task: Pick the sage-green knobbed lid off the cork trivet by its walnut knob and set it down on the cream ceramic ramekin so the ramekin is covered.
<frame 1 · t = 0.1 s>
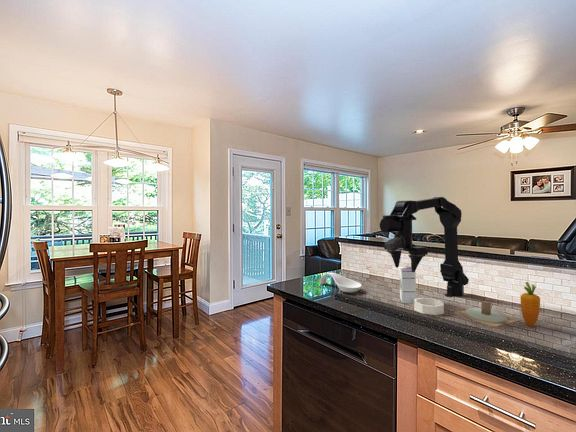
hand: (404, 269, 120), 15 cm above the worktop, fingers open, 9 cm apart
spoon rest: (339, 289, 146), on the worktop
trivet: (486, 319, 104), on the worktop
lid: (486, 316, 104), point 1 cm above the worktop, touching trivet
carrot: (530, 329, 95), on the worktop
bowl: (428, 312, 112), on the worktop
syrup box: (407, 302, 124), on the worktop
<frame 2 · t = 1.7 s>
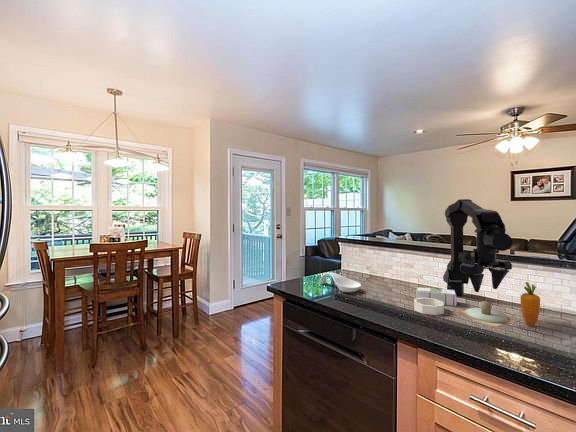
hand: (485, 290, 104), 10 cm above the worktop, fingers open, 9 cm apart
syrup box: (415, 295, 123), point 3 cm above the worktop
everything else where it was.
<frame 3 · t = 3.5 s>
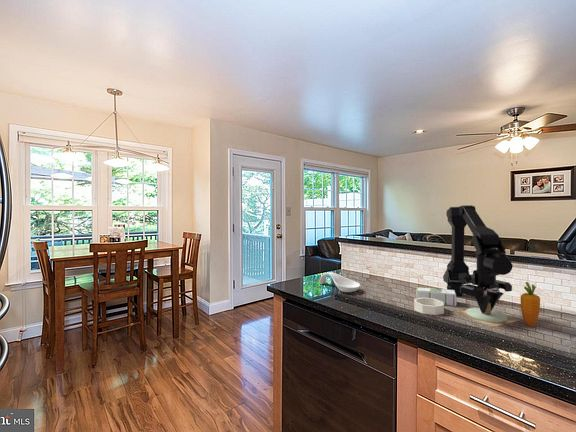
hand: (486, 312, 104), 3 cm above the worktop, fingers closed on lid, 3 cm apart
lid: (486, 316, 104), point 1 cm above the worktop, touching gripper, trivet
everything else where it was.
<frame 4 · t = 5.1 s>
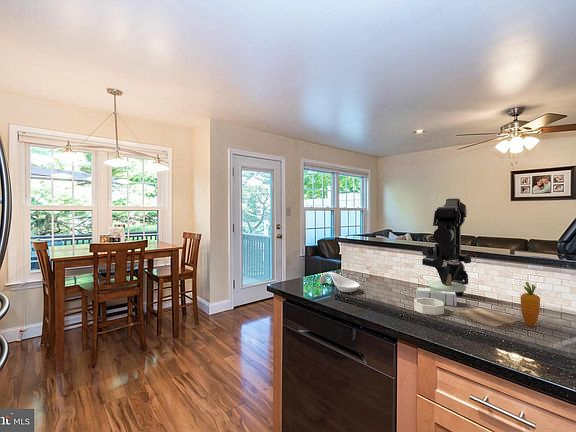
hand: (446, 283, 108), 12 cm above the worktop, fingers closed on lid, 3 cm apart
lid: (447, 287, 108), point 10 cm above the worktop, touching gripper
everything else where it was.
when the fingers open (7 cm above the worktop, at t = 6.9 s): lid drops 1 cm, resting on bowl.
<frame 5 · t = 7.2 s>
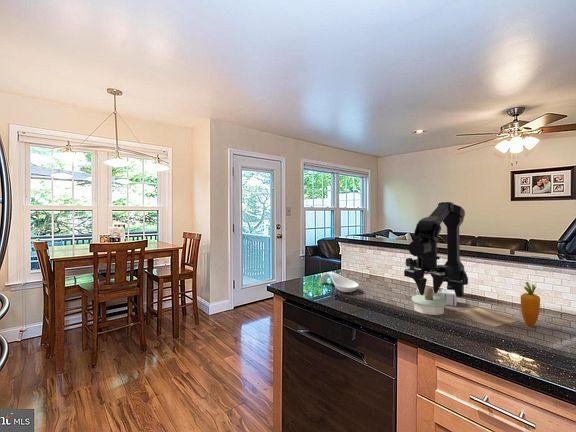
hand: (428, 294, 111), 7 cm above the worktop, fingers open, 6 cm apart
lid: (428, 301, 111), point 4 cm above the worktop, touching bowl
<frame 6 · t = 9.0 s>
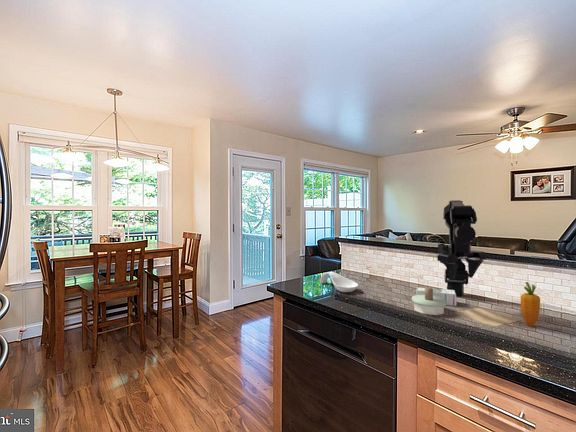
hand: (461, 278, 112), 12 cm above the worktop, fingers open, 9 cm apart
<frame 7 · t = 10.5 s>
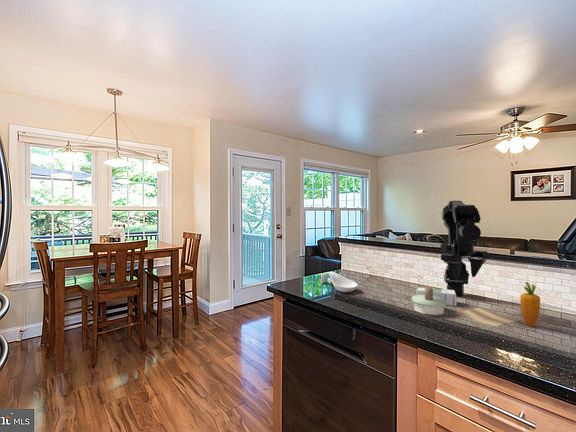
hand: (464, 278, 112), 13 cm above the worktop, fingers open, 9 cm apart
at the end: lid 0.1 cm off-centre on the bowl, point 4.0 cm above the bowl's base; lid tilted 0°; the gripper is holding nothing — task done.
